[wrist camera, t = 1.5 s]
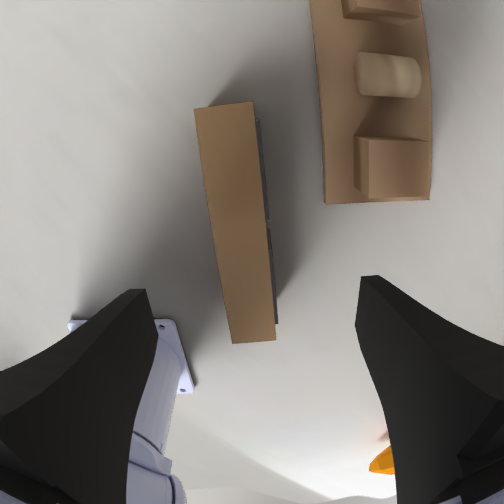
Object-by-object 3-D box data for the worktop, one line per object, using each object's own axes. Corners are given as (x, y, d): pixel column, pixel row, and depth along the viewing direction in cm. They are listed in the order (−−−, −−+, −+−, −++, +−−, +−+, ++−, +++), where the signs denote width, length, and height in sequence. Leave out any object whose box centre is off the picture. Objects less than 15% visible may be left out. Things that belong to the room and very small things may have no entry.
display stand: (324, 201, 19) (336, 218, 16) (303, -36, 12) (312, -58, 9) (424, 197, 18) (449, 212, 16) (410, -21, 12) (433, -36, 9)
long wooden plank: (234, 305, 22) (232, 343, 18) (206, 109, 16) (193, 109, 13) (275, 301, 22) (279, 339, 18) (255, 103, 16) (257, 100, 13)
